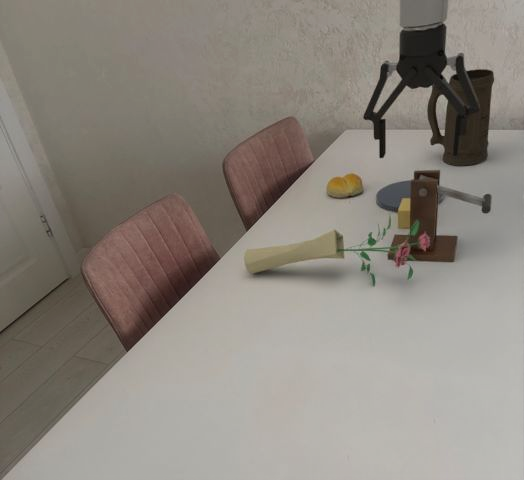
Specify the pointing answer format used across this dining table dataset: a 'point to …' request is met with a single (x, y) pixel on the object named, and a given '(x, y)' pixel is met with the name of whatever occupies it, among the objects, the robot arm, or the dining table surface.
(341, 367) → the dining table surface
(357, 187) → the bread roll
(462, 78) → the robot arm
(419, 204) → the brown wooden stand
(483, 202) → the grey t-shaped bar
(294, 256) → the flower vase
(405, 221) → the butter pat
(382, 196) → the plate
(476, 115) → the beer stein
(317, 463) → the dining table surface
